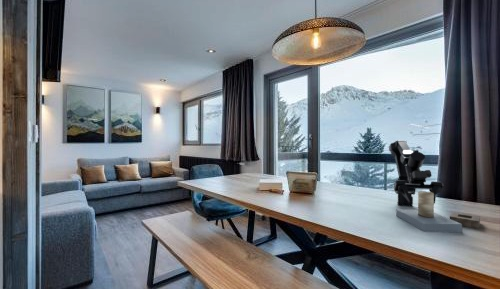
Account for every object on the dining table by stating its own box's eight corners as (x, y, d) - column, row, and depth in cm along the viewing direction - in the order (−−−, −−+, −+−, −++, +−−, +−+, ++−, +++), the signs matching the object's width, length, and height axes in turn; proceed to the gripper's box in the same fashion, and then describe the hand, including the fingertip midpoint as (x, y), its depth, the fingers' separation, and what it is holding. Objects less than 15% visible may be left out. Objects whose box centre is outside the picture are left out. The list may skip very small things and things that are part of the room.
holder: (449, 223, 104) (449, 216, 104) (452, 218, 110) (452, 211, 110) (478, 228, 97) (478, 221, 97) (479, 223, 104) (479, 216, 103)
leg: (415, 222, 105) (415, 192, 105) (421, 219, 108) (421, 190, 108) (430, 226, 101) (430, 194, 100) (436, 223, 104) (436, 192, 104)
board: (396, 215, 115) (396, 209, 115) (427, 215, 114) (427, 209, 114) (424, 231, 95) (424, 223, 95) (461, 231, 94) (461, 224, 94)
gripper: (395, 163, 116) (401, 191, 106) (442, 164, 111) (453, 193, 100) (391, 177, 124) (396, 204, 114) (435, 178, 118) (444, 207, 108)
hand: (421, 202), depth 109 cm, fingers open, 9 cm apart
